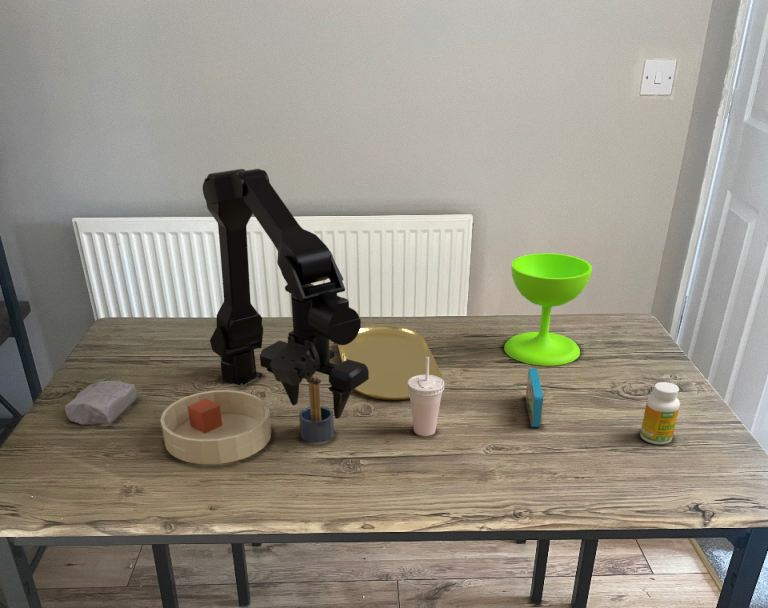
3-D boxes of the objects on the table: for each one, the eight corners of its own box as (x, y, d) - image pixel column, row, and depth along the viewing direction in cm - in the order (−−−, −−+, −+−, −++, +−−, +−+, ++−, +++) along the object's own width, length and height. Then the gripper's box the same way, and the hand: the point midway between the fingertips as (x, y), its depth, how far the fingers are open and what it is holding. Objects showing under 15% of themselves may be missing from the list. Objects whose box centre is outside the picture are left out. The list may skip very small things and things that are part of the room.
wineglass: (500, 334, 177) (507, 252, 167) (573, 335, 177) (585, 253, 166) (507, 365, 164) (515, 278, 154) (586, 366, 164) (599, 279, 153)
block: (208, 418, 145) (205, 398, 143) (222, 425, 143) (219, 405, 140) (190, 426, 143) (187, 406, 140) (204, 433, 140) (201, 413, 138)
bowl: (215, 405, 150) (212, 381, 147) (292, 431, 142) (290, 406, 139) (143, 447, 138) (137, 422, 135) (222, 478, 130) (218, 451, 127)
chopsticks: (313, 432, 141) (310, 374, 135) (323, 435, 140) (320, 378, 134) (310, 434, 140) (306, 377, 134) (320, 437, 139) (317, 380, 133)
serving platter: (416, 329, 180) (416, 322, 179) (450, 400, 152) (450, 392, 151) (333, 334, 178) (333, 327, 177) (352, 407, 149) (352, 400, 148)
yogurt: (525, 397, 152) (528, 367, 149) (533, 397, 152) (537, 367, 149) (531, 428, 143) (534, 397, 139) (539, 428, 143) (543, 397, 139)
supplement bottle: (655, 448, 137) (666, 397, 131) (633, 434, 141) (643, 384, 135) (678, 440, 139) (690, 389, 133) (656, 427, 143) (667, 377, 137)
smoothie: (446, 426, 143) (450, 353, 135) (437, 443, 138) (439, 369, 130) (412, 421, 145) (413, 348, 137) (401, 437, 140) (402, 363, 132)
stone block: (66, 431, 146) (113, 426, 143) (55, 407, 144) (103, 402, 141) (98, 403, 156) (143, 398, 153) (89, 380, 153) (134, 375, 150)
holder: (313, 425, 144) (312, 403, 141) (340, 434, 141) (340, 411, 139) (293, 439, 140) (292, 416, 137) (321, 448, 137) (319, 425, 135)
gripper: (233, 328, 127) (243, 416, 136) (328, 354, 119) (332, 445, 128) (277, 307, 135) (284, 391, 144) (369, 330, 126) (371, 417, 135)
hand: (316, 411), depth 137 cm, fingers open, 9 cm apart
